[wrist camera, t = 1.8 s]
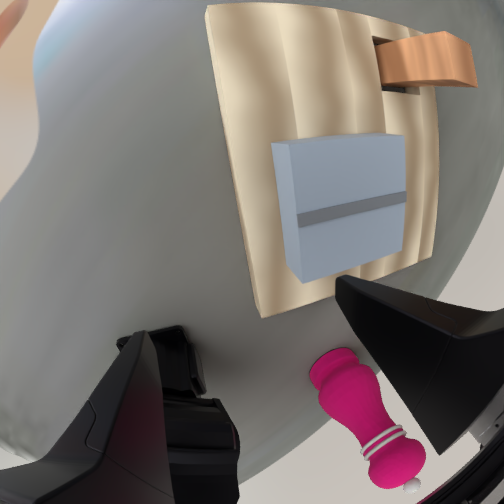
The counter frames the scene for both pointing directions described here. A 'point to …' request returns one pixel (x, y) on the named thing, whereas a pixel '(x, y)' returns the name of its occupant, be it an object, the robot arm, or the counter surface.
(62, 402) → the counter surface
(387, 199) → the block
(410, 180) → the pin board
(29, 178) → the counter surface
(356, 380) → the pepper mill
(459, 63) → the pin
